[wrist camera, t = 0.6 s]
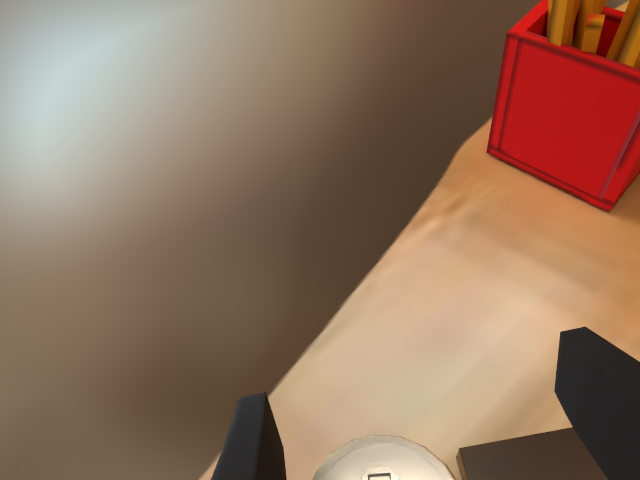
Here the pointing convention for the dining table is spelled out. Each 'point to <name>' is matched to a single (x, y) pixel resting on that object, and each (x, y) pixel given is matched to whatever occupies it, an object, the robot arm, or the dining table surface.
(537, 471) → the walnut board
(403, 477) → the beer can
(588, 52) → the french fries container
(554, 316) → the dining table surface
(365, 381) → the dining table surface
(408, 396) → the dining table surface
